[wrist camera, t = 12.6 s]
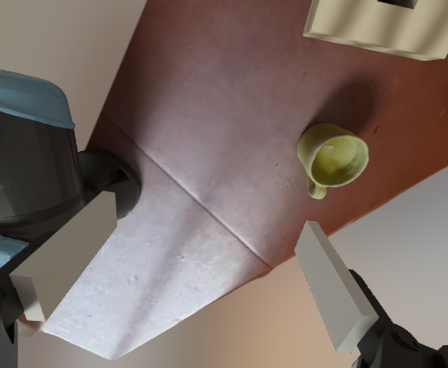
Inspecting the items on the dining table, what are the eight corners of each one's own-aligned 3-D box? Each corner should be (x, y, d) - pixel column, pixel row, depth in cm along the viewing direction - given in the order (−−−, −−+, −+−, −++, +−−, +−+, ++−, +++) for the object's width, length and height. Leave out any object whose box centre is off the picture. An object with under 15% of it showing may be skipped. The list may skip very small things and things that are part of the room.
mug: (310, 104, 34) (348, 135, 27) (349, 123, 39) (391, 154, 32) (269, 161, 41) (291, 198, 34) (307, 172, 46) (333, 207, 39)
